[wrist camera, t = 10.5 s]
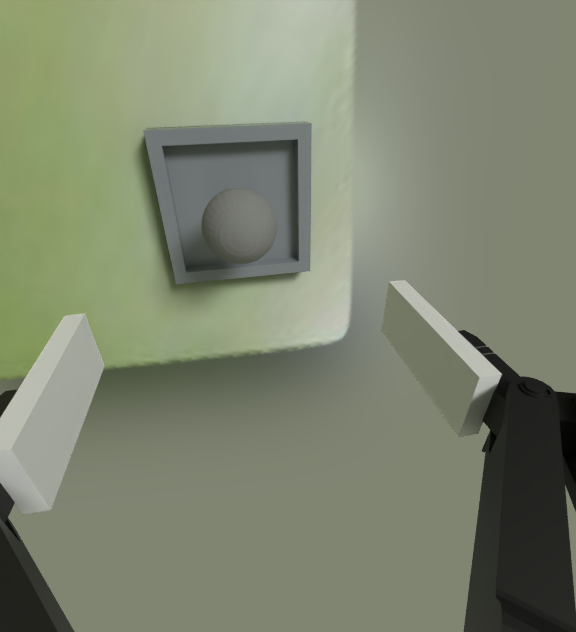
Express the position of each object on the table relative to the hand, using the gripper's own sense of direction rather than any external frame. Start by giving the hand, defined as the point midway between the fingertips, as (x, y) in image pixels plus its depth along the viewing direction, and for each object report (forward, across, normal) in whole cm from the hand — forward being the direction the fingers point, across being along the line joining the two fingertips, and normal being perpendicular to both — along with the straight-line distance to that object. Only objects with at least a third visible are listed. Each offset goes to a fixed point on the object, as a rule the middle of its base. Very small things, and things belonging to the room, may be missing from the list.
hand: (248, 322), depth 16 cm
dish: (+23, +1, -1) cm, 23 cm away
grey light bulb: (+22, +1, -1) cm, 22 cm away
